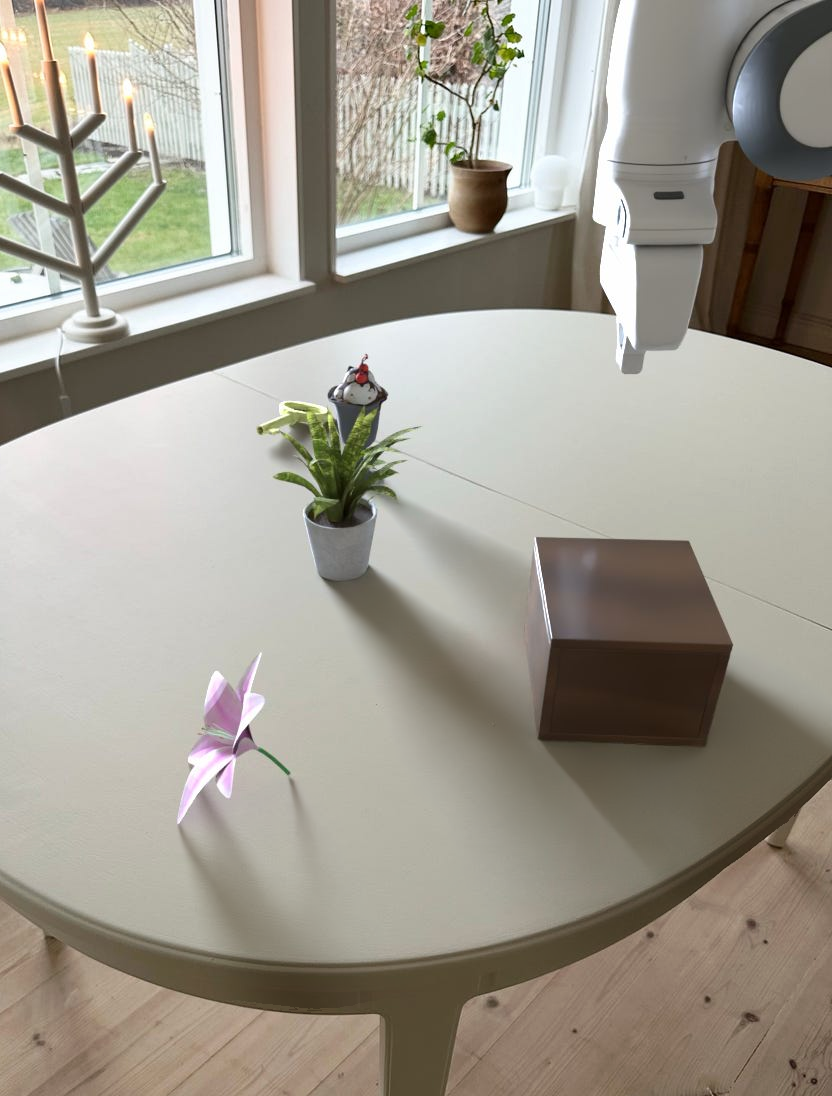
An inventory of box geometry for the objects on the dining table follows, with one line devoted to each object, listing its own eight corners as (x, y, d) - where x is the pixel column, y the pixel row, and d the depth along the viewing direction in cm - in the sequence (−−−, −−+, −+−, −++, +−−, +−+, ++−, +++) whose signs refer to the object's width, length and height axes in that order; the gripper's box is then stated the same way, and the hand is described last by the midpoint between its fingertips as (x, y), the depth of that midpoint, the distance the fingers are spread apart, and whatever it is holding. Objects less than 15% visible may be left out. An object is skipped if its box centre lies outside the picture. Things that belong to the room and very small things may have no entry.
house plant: (405, 621, 86) (409, 455, 77) (257, 607, 88) (243, 443, 79) (424, 543, 98) (429, 389, 88) (292, 532, 100) (284, 381, 90)
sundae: (371, 495, 106) (370, 363, 98) (319, 483, 109) (314, 353, 100) (398, 472, 111) (400, 344, 102) (347, 460, 114) (345, 335, 105)
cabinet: (524, 630, 85) (534, 536, 79) (668, 635, 84) (689, 540, 78) (537, 740, 73) (551, 639, 67) (705, 746, 72) (733, 644, 67)
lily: (236, 716, 77) (165, 646, 71) (359, 706, 71) (292, 627, 65) (185, 852, 71) (101, 786, 65) (315, 853, 64) (236, 781, 58)
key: (255, 443, 118) (254, 427, 117) (285, 406, 128) (284, 391, 126) (311, 449, 116) (310, 432, 115) (337, 411, 126) (336, 395, 125)
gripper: (593, 173, 84) (577, 331, 92) (632, 225, 67) (608, 412, 75) (667, 172, 83) (644, 330, 91) (724, 224, 67) (690, 412, 75)
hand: (628, 368), depth 83 cm, fingers closed
